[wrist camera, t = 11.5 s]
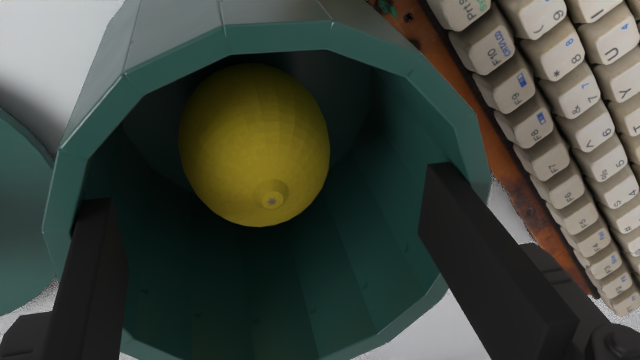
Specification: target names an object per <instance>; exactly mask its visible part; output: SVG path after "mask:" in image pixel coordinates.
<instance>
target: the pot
mask: <svg viewBox="0 0 640 360" xmlns="http://www.w3.org/2000/svg"><path fill="white" fill-rule="evenodd" d="M241 63H261V64H265V65H269V66H272V67H275V68H278V69H281V70H282V71H284V72H286V73H287V74H289V75H290V76H292V77H294V78H295V79H297V80H298V81H299V82H300V83H301V84H302V85H303V86H304V87H305V88H306V90H307V91H308V92H309V93H310V94H311V95H312V96H313V97H314V99H315V100H316V102H317V104H318V106H319V108H320V110H321V112H322V114H323V117H324V119H325V122H326V126H327V131H328V137H329V143H330V158H329V168H328V173H327V176H326V179H325V181H324V184H323V187H322V189H321V190H320V192H319V193H318V195H317V196H316V198H315V199H314V200H313V202H312V203H311V204H310V205H309V206H308V207H307V208H306V209H305V210H303V211H302V212H301V213H300V214H298V215H296V216H295V217H293V218H291V219H290V220H288V221H285V222H282V223H279V224H276V225H271V226H264V227H252V226H244V225H240V224H237V223H233V222H230V221H228V220H226V219H224V218H223V217H221V216H219V215H217V214H216V213H214V212H213V211H212V210H211V209H210V208H209V207H208V206H207V205H206V204H205V203H204V202H203V201H202V200H201V199H200V198H199V197H198V196H197V194H196V193H195V191H194V189H193V188H192V186H191V184H190V182H189V180H188V179H187V177H186V175H185V173H184V170H183V167H182V162H181V158H180V153H179V148H178V134H179V123H180V118H181V115H182V113H183V110H184V108H185V105H186V102H187V100H188V98H189V97H190V96H191V94H192V93H193V92H194V90H195V89H196V87H197V86H198V85H199V84H200V83H201V82H202V81H203V80H205V79H206V78H207V77H208V76H210V75H211V74H212V73H214V72H216V71H218V70H220V69H223V68H225V67H227V66H231V65H236V64H241ZM442 162H451V163H452V164H453V166H454V167H455V168H456V169H457V170H458V172H459V173H460V174H461V175H462V177H463V178H464V179H465V180H466V181H467V183H468V184H469V185H470V186H471V188H472V189H473V190H474V191H475V192H476V194H477V195H478V196H479V197H480V198H481V200H482V201H483V202H484V203H485V205H486V206H487V201H488V197H489V192H490V188H491V184H492V183H491V181H492V178H491V174H490V169H489V165H488V161H487V157H486V153H485V148H484V144H483V140H482V136H481V132H480V128H479V123H478V119H477V115H476V114H475V113H474V110H473V109H472V108H471V107H470V106H469V104H468V103H467V102H466V101H465V100H464V99H463V98H462V97H461V96H460V95H459V93H458V92H457V91H456V90H455V89H454V88H453V87H452V86H451V85H450V83H449V82H448V81H447V80H446V79H445V78H444V77H443V76H442V75H441V74H440V72H439V71H438V70H437V69H436V68H435V67H434V66H433V65H432V64H431V63H430V61H429V60H428V59H427V58H426V57H425V56H424V55H423V54H422V53H421V52H420V51H419V50H418V49H417V48H416V47H414V46H413V45H412V44H411V43H410V42H409V41H408V40H407V39H406V38H405V37H404V36H403V35H402V34H401V33H399V32H398V31H397V30H396V29H395V28H394V27H393V26H392V25H391V24H390V23H389V22H388V21H387V20H386V19H384V18H383V17H382V16H381V15H380V14H379V13H378V12H377V11H376V10H375V9H374V8H373V7H372V6H370V5H369V4H368V3H367V2H366V1H365V0H126V1H125V2H124V4H123V5H122V6H121V8H120V9H119V11H118V12H117V13H116V14H115V16H114V17H113V18H112V19H111V20H110V22H109V24H108V25H107V28H106V30H105V33H104V35H103V38H102V40H101V43H100V45H99V48H98V50H97V53H96V55H95V58H94V60H93V63H92V65H91V68H90V70H89V73H88V75H87V77H86V80H85V82H84V85H83V87H82V90H81V92H80V95H79V97H78V100H77V102H76V105H75V107H74V110H73V112H72V115H71V117H70V120H69V122H68V125H67V127H66V130H65V132H64V135H63V137H62V139H61V142H60V144H59V147H58V149H57V153H56V158H55V163H54V168H53V173H52V177H51V182H50V187H49V192H48V197H47V202H46V206H45V211H44V216H43V221H42V226H41V230H42V235H43V238H44V241H45V244H46V246H47V249H48V252H49V255H50V258H51V261H52V264H53V267H54V270H55V273H56V275H57V278H58V281H59V284H60V281H61V277H62V273H63V270H64V266H65V262H66V259H67V255H68V251H69V248H70V244H71V240H72V236H73V233H74V229H75V225H76V222H77V218H78V214H79V211H80V207H81V203H82V200H88V199H98V198H108V197H112V201H113V205H114V209H115V213H116V218H117V222H118V226H119V230H120V234H121V238H122V242H123V247H124V251H125V255H126V259H127V263H128V267H129V279H128V287H127V295H126V304H125V312H124V320H123V329H122V337H121V345H120V352H122V353H124V354H127V355H129V356H132V357H134V358H136V359H139V360H350V359H352V358H355V357H357V356H359V355H361V354H364V353H366V352H368V351H370V350H373V349H375V348H377V347H380V346H382V345H384V344H386V343H388V342H389V341H391V340H392V339H393V338H394V337H396V336H397V335H398V334H399V333H401V332H402V331H403V330H404V329H406V328H407V327H408V326H409V325H411V324H412V323H413V322H414V321H416V320H417V319H418V318H419V317H421V316H422V315H423V314H424V313H426V312H427V311H428V310H429V309H431V308H432V307H433V306H434V305H436V304H437V303H438V302H439V300H441V299H442V298H443V296H444V295H445V293H446V292H447V290H448V289H449V287H448V285H447V283H446V281H445V280H444V278H443V276H442V275H441V273H440V271H439V270H438V268H437V266H436V265H435V263H434V261H433V259H432V258H431V256H430V254H429V253H428V251H427V249H426V248H425V246H424V244H423V243H422V241H421V239H420V237H419V236H418V234H417V232H418V225H419V218H420V211H421V204H422V197H423V190H424V183H425V177H426V170H427V164H432V163H442Z"/></svg>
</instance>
